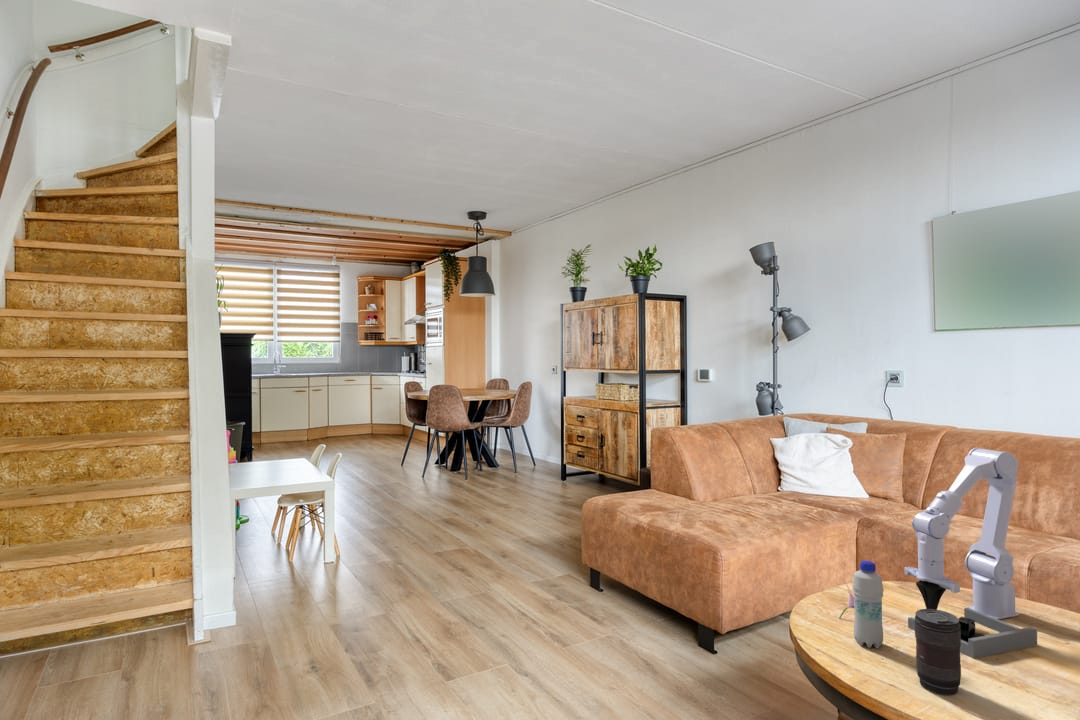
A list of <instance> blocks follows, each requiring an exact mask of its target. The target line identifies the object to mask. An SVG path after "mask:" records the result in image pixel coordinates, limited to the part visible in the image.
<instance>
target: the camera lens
mask: <svg viewBox="0 0 1080 720" xmlns="http://www.w3.org/2000/svg"><path fill="white" fill-rule="evenodd" d="M914 618H915V631H914V637H915V644H916V645H915V648H916V649H915V650H916V651H915V652H916V654H915V666H916V675H917V676H918V678H919V684H920V685H921V687H922V688H924V689H925V690H927V691H929V692H932V693H934V694H937V695H941V696H942V695H943V696H955V695H957V694H958V693H959V692H958V691H959V687H960V686H961V679H962V665H961V652H960V646H961V631H960V629H961V627H960V624H959V617H957V616H956V615H955V614H953V613H950V612H948V611H944V610H941V609H937V610H935V609H926V608H922V609H918V610H916V611H915V616H914Z"/></svg>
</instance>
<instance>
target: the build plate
mask: <svg viewBox="0 0 1080 720" xmlns="http://www.w3.org/2000/svg"><path fill="white" fill-rule="evenodd" d="M958 619H959V624H960V627H961V629H960V631H961V640H963V641H965V642H968V639H970V638H975V637H980V636H986V635H985V634H983V633H980V632H977V631H976V622H975V620H972V619H969V618H965V617H964V616H960V617H958Z"/></svg>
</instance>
